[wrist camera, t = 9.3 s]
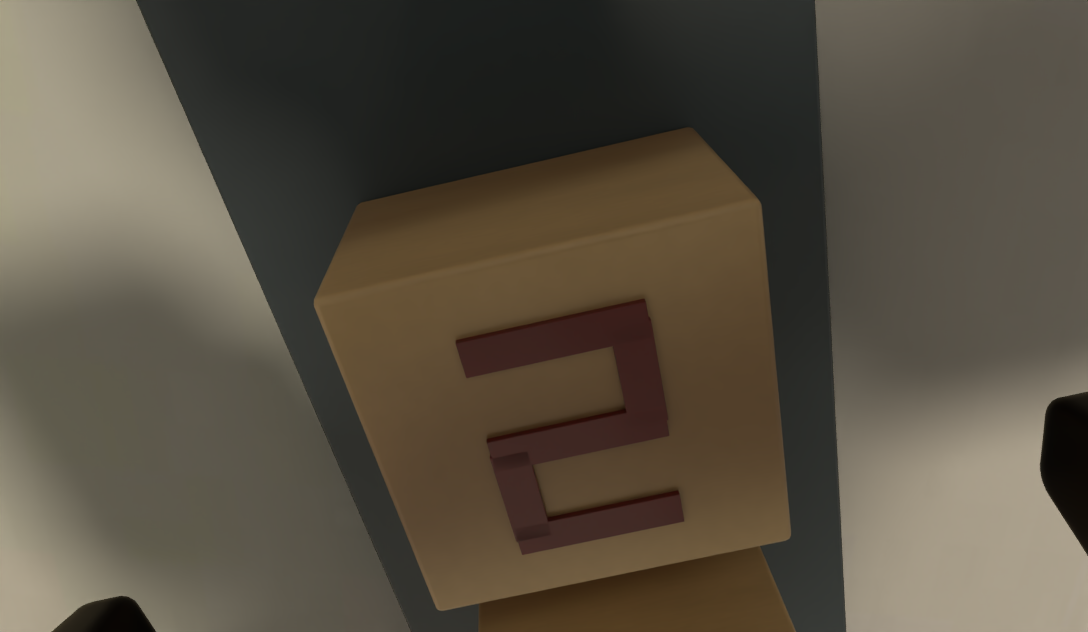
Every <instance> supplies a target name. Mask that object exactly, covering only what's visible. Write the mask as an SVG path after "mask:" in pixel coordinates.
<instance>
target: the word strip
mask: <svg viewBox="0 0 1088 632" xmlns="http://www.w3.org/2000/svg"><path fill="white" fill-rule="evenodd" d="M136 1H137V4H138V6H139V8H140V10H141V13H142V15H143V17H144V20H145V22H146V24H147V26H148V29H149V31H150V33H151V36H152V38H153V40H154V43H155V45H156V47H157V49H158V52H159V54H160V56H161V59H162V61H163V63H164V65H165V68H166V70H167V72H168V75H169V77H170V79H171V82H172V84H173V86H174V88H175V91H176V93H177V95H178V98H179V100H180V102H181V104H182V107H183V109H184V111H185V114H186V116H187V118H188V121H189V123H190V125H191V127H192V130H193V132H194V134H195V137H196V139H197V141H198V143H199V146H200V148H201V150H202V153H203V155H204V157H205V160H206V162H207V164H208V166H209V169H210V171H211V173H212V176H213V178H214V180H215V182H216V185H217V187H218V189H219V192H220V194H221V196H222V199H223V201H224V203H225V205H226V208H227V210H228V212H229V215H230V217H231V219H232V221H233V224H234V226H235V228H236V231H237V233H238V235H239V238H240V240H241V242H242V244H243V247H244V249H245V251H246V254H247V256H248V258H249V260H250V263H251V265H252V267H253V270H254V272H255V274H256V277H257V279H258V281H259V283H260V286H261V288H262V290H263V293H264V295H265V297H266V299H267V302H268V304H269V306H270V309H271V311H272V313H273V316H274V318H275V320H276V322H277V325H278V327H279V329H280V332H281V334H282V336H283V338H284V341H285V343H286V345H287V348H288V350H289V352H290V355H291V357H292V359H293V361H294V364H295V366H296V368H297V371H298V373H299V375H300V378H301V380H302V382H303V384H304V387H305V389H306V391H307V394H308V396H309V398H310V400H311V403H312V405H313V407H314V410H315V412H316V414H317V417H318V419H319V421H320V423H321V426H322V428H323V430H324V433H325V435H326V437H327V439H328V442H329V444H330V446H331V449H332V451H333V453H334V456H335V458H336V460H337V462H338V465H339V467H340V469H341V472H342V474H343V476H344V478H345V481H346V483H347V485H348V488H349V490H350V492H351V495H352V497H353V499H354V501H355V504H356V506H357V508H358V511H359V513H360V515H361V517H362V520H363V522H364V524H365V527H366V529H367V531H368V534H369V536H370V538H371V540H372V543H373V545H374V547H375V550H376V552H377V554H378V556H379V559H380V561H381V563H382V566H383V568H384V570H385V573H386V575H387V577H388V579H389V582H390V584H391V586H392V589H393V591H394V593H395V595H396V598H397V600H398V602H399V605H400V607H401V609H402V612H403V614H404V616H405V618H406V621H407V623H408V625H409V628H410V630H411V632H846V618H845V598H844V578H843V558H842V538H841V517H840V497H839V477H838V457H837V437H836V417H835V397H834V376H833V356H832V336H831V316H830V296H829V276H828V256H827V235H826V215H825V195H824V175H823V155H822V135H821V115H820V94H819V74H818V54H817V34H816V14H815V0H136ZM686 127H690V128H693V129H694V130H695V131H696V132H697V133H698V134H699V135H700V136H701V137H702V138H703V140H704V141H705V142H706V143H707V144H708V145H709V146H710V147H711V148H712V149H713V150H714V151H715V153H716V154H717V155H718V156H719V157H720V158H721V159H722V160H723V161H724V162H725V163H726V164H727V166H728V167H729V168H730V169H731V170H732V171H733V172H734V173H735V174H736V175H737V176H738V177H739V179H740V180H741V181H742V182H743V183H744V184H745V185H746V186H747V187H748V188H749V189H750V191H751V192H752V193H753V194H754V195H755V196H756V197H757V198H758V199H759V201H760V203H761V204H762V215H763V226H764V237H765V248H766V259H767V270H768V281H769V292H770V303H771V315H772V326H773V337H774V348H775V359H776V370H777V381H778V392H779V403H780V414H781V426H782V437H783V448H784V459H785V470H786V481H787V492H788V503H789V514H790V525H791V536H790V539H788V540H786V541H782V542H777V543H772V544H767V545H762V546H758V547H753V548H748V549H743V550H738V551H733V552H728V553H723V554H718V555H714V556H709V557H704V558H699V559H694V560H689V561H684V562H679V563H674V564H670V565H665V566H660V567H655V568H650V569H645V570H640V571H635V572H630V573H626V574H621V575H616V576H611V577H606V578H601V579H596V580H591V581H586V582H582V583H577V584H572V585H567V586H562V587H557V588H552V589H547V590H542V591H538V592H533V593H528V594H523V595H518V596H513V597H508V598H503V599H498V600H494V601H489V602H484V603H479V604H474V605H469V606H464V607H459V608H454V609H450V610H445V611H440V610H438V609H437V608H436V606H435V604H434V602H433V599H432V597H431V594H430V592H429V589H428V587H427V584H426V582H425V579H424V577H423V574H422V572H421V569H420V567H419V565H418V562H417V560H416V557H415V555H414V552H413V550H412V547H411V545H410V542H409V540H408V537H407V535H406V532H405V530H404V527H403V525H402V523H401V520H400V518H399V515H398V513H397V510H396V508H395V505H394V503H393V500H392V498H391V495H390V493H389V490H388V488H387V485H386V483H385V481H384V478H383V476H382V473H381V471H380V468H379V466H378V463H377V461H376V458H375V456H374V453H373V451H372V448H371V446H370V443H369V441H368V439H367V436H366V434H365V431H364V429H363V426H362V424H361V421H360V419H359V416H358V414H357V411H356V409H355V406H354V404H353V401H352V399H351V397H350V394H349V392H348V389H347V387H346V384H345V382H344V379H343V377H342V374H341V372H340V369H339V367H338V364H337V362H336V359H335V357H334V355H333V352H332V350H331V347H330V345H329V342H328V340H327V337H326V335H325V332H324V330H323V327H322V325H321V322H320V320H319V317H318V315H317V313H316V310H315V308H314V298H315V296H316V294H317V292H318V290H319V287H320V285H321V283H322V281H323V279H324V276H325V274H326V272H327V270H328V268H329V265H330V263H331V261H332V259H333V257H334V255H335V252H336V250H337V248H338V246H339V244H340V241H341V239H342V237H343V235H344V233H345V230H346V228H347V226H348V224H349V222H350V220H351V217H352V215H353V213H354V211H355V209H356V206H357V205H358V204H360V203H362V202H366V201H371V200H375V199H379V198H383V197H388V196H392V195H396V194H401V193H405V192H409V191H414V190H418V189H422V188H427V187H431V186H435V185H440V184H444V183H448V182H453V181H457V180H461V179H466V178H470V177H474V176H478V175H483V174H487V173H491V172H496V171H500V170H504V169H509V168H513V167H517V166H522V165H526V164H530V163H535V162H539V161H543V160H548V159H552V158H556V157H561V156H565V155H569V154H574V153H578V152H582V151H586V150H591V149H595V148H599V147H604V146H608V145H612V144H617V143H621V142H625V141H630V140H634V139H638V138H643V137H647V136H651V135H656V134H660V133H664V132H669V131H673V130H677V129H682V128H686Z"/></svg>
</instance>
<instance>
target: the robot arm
mask: <svg viewBox="0 0 1088 632" xmlns="http://www.w3.org/2000/svg"><path fill="white" fill-rule="evenodd" d="M1040 471H1041V477H1042V481H1043V484H1044V486H1045V488H1046V491H1047V492H1048V494H1049V496H1050V497H1051V499H1052V501H1053V502H1054V504H1055V505H1056V507H1057V508H1058V510H1059V511H1060V513H1061V515H1062V516H1063V518H1064V519H1065V521H1066V522H1067V524H1068V525H1069V527H1070V529H1071V530H1072V532H1073V533H1074V535H1075V536H1076V538H1077V539H1078V541H1079V543H1080V544H1081V546H1082V547H1083V549H1084V550H1085V552H1086V553H1087V555H1088V392H1084V393H1079V394H1075V395H1070V396H1065V397H1060V398H1057V399H1055V400H1053V401H1052V402H1051V403H1050V404H1049V406H1048V407H1047V410H1046V414H1045V423H1044V433H1043V442H1042V452H1041V461H1040ZM52 632H156V631H155V629H154V628H153V626H152V625H151V623H150V622H149V620H148V619H147V617H146V616H145V614H144V613H143V611H142V610H141V608H140V607H139V605H138V604H137V603H136V601H134V600H133V599H131V598H129V597H127V596H118V597H113V598H108V599H104V600H99V601H94V602H91V603H88V604H85V605H83V606H81V607H80V608H79V609H77V610H76V611H75V612H74V613H73V614H72V615H70V616H69V617H68V618H67V619H66V620H65V621H64V622H62V623H61V624H60V625H59V626H58V627H57V628H55V629H54V630H53V631H52Z"/></svg>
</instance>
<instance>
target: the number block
mask: <svg viewBox="0 0 1088 632" xmlns="http://www.w3.org/2000/svg"><path fill="white" fill-rule="evenodd" d="M314 308H315V310H316V313H317V315H318V317H319V320H320V322H321V325H322V327H323V330H324V332H325V335H326V337H327V340H328V342H329V345H330V347H331V350H332V352H333V355H334V357H335V359H336V362H337V364H338V367H339V369H340V372H341V374H342V377H343V379H344V382H345V384H346V387H347V389H348V392H349V394H350V397H351V399H352V401H353V404H354V406H355V409H356V411H357V414H358V416H359V419H360V421H361V424H362V426H363V429H364V431H365V434H366V436H367V439H368V441H369V443H370V446H371V448H372V451H373V453H374V456H375V458H376V461H377V463H378V466H379V468H380V471H381V473H382V476H383V478H384V481H385V483H386V485H387V488H388V490H389V493H390V495H391V498H392V500H393V503H394V505H395V508H396V510H397V513H398V515H399V518H400V520H401V523H402V525H403V527H404V530H405V532H406V535H407V537H408V540H409V542H410V545H411V547H412V550H413V552H414V555H415V557H416V560H417V562H418V565H419V567H420V569H421V572H422V574H423V577H424V579H425V582H426V584H427V587H428V589H429V592H430V594H431V597H432V599H433V602H434V604H435V606H436V608H437V609H438V610H440V611H445V610H450V609H454V608H459V607H464V606H469V605H474V604H479V603H484V602H489V601H494V600H498V599H503V598H508V597H513V596H518V595H523V594H528V593H533V592H538V591H542V590H547V589H552V588H557V587H562V586H567V585H572V584H577V583H582V582H586V581H591V580H596V579H601V578H606V577H611V576H616V575H621V574H626V573H630V572H635V571H640V570H645V569H650V568H655V567H660V566H665V565H670V564H674V563H679V562H684V561H689V560H694V559H699V558H704V557H709V556H714V555H718V554H723V553H728V552H733V551H738V550H743V549H748V548H753V547H758V546H762V545H767V544H772V543H777V542H782V541H786V540H788V539H790V536H791V525H790V514H789V503H788V492H787V481H786V470H785V459H784V448H783V437H782V426H781V414H780V403H779V392H778V381H777V370H776V359H775V348H774V337H773V326H772V315H771V303H770V292H769V281H768V270H767V259H766V248H765V237H764V226H763V215H762V204H761V203H760V201H759V199H758V198H757V197H756V196H755V195H754V194H753V193H752V192H751V191H750V189H749V188H748V187H747V186H746V185H745V184H744V183H743V182H742V181H741V180H740V179H739V177H738V176H737V175H736V174H735V173H734V172H733V171H732V170H731V169H730V168H729V167H728V166H727V164H726V163H725V162H724V161H723V160H722V159H721V158H720V157H719V156H718V155H717V154H716V153H715V151H714V150H713V149H712V148H711V147H710V146H709V145H708V144H707V143H706V142H705V141H704V140H703V138H702V137H701V136H700V135H699V134H698V133H697V132H696V131H695V130H694V129H693V128H690V127H686V128H682V129H677V130H673V131H669V132H664V133H660V134H656V135H651V136H647V137H643V138H638V139H634V140H630V141H625V142H621V143H617V144H612V145H608V146H604V147H599V148H595V149H591V150H586V151H582V152H578V153H574V154H569V155H565V156H561V157H556V158H552V159H548V160H543V161H539V162H535V163H530V164H526V165H522V166H517V167H513V168H509V169H504V170H500V171H496V172H491V173H487V174H483V175H478V176H474V177H470V178H466V179H461V180H457V181H453V182H448V183H444V184H440V185H435V186H431V187H427V188H422V189H418V190H414V191H409V192H405V193H401V194H396V195H392V196H388V197H383V198H379V199H375V200H371V201H366V202H362V203H360V204H358V205H357V206H356V209H355V211H354V213H353V215H352V217H351V220H350V222H349V224H348V226H347V228H346V230H345V233H344V235H343V237H342V239H341V241H340V244H339V246H338V248H337V250H336V252H335V255H334V257H333V259H332V261H331V263H330V265H329V268H328V270H327V272H326V274H325V276H324V279H323V281H322V283H321V285H320V287H319V290H318V292H317V294H316V296H315V298H314Z"/></svg>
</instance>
